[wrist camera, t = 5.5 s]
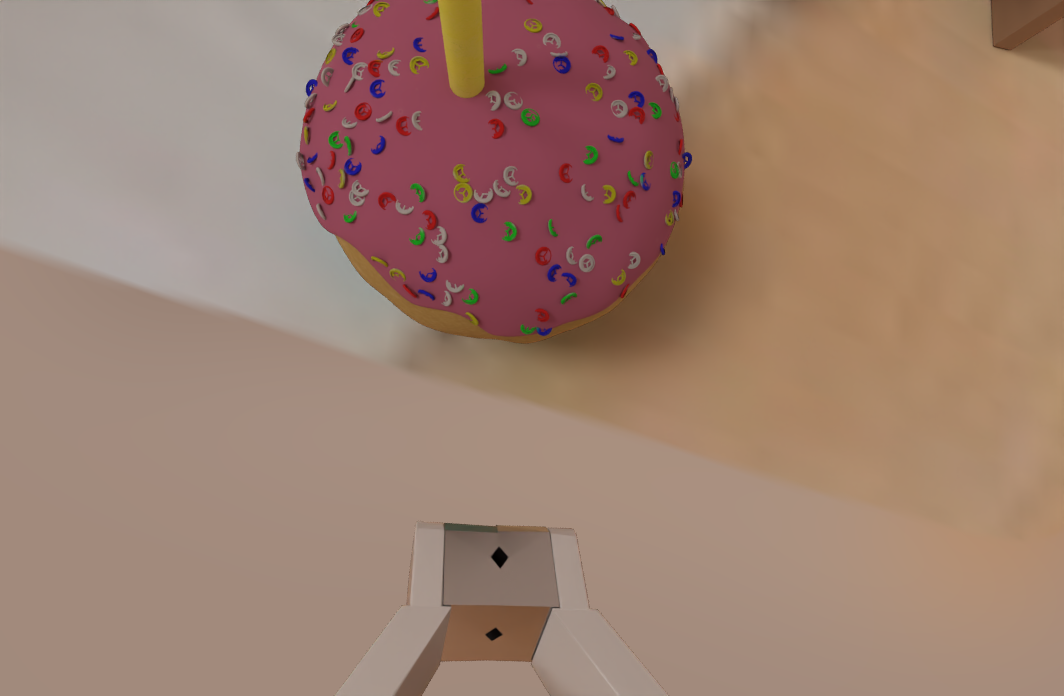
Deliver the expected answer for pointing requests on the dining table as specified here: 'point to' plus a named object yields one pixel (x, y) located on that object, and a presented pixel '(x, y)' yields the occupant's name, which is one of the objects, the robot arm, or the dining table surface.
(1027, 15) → the walnut rack
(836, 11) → the dining table surface
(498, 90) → the cupcake
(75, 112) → the dining table surface
